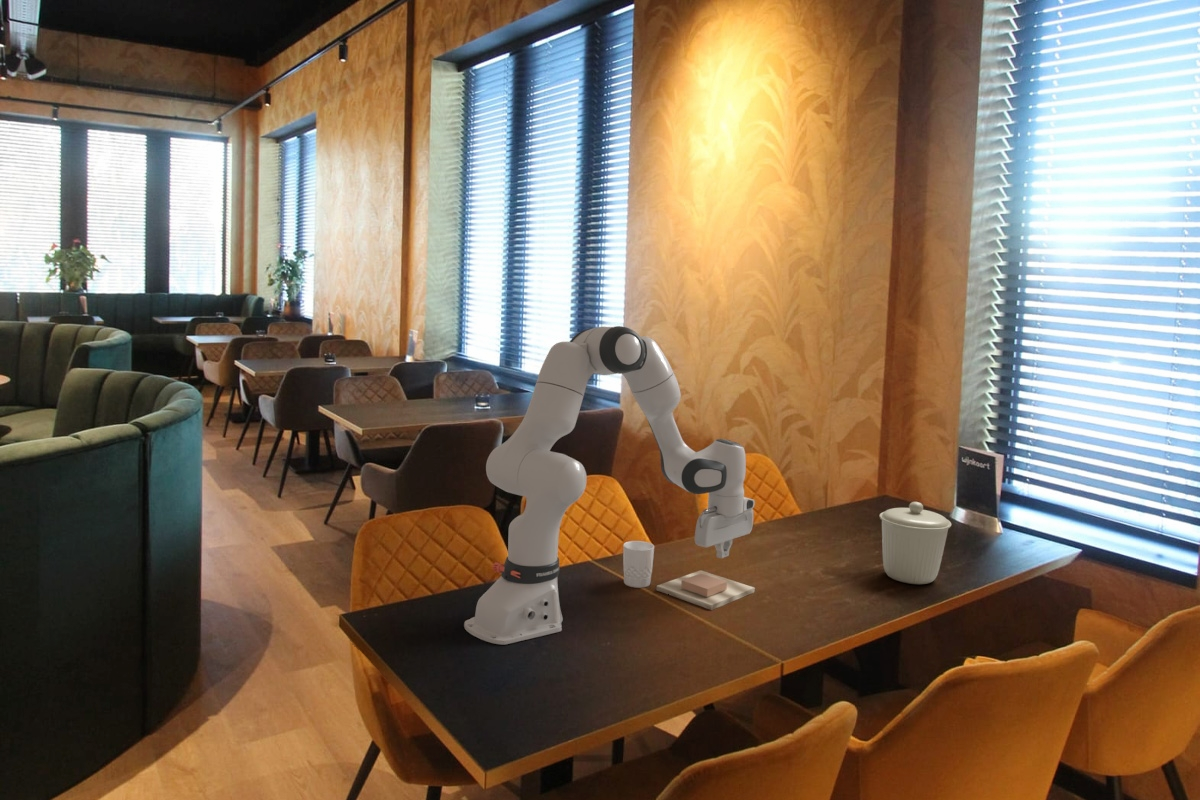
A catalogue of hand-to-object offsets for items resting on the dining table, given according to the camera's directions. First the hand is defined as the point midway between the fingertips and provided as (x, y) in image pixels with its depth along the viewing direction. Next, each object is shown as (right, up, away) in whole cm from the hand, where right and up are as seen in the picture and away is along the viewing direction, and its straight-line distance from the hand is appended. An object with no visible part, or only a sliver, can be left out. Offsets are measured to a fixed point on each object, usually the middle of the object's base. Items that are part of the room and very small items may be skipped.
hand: (722, 556), depth 215 cm
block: (-2, -6, -2) cm, 6 cm away
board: (-4, -8, -2) cm, 10 cm away
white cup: (-22, -7, +2) cm, 23 cm away
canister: (+52, -9, +14) cm, 55 cm away
